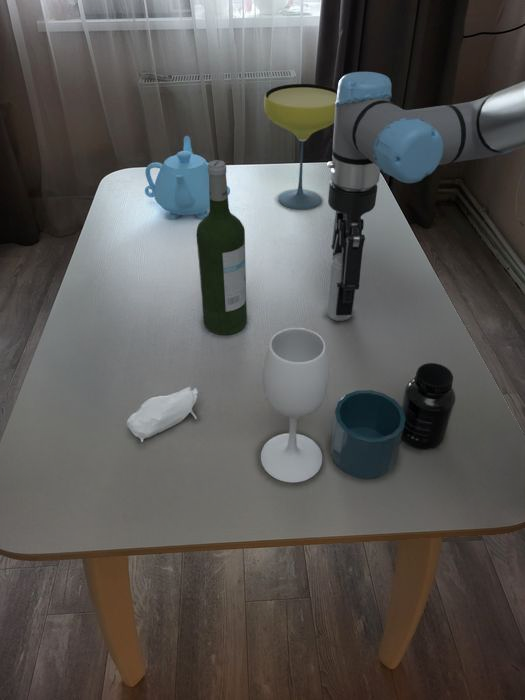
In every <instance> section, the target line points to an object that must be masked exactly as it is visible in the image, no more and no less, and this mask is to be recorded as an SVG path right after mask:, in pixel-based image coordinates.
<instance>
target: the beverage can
mask: <svg viewBox="0 0 525 700" xmlns="http://www.w3.org/2000/svg"><path fill="white" fill-rule="evenodd" d="M341 265H342V253H337V254H335V255H334V256H333V255H332V257H331V262H330V268H329V269H330V270H329V281H328V291H327V292H328V293H327V301H326V302H327V303H326V314H327V317H329V318H330V319H331V320H333V321H337V322H344V321H347V320H348V319H350V318H351V317H352V316H353V312H354V307H353V308H352V315H336V307H337V298H338V288H339V287H337V283H340V282H341ZM355 296H356V291H355V292H354V298H356V297H355ZM354 303H355V299H354V300H353V306H354V305H355V304H354Z"/></svg>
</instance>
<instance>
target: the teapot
mask: <svg viewBox="0 0 525 700" xmlns="http://www.w3.org/2000/svg"><path fill="white" fill-rule="evenodd" d="M191 143H192V142H191V137H190V136H189V135H185V136H184V137H183V147H182V149H183V150H181V151H178V152H177V153H176V154H175V155H172V156H169V157H168V158H166V159H165V160H164V162H163V163H161V162H152V163H150V164H148V165H147V166H146V168H145V170H144V171H145V178H146V180H147V183H148V185H146V186H145V188H144V194H145V195H146V196H147V197H148V198H154V200H155V201H156V203H157V204H158V205H159V206H160V207H161V208H162V209H163V210H164V211H166V212H168V216H167V217H168V218H169V219H172V220H175V219H178V218H180V217H181V216H194V215H196V218H199V219H203V218H204V217H205V216H206V215H208V214H209V211H210V197H209V173H208V165H209V162H207V160H206V159H205V158H204V157H203V156H201V155H198V154H195V153H194V152H193V149H192V144H191ZM154 168H155V169H159V171H158V173H157V176H156V178H155V182H154V180H153V178H152V175H151V169H154ZM150 190H151V191H150ZM227 192H228V196H229V195H230V193H231V188H230V187H229V186H228V185H227Z"/></svg>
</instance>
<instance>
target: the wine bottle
mask: <svg viewBox="0 0 525 700" xmlns="http://www.w3.org/2000/svg"><path fill="white" fill-rule="evenodd" d="M208 163H209V165H208V173H209V197H210V209H209V210H208V215H206V216H205V217H204V218H201V220H200V221H199V223H198V225H197V227H196V235H195V236H196V248H197V258H198V270H199V282H200V292H201V294H200V295H201V305H202V314H203V315H202V316H203V324H204V327H205V328H206V329H207V330H208V331H209V332H211V333H213V334H215V335H218V336H219V335H220V336H230V335H235V334H236V333H239V332H241V331H242V330H243V329H244V328H245V327H246V325H247V323H248V310H247V306H248V305H247V269H246V265H247V264H246V232H245V231H246V230H245V226H244V224H243V223H242V222H241V220H240V219H239V218H238V217H237V216H236V215H234V214H233V213H232V212H231V210H230V205H229V195H228V192H227V186H228V183H227V165H226V162H225V161H223V160H222V159H221V160H219V159H214V160H211V161H209V162H208Z"/></svg>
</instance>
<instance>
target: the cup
mask: <svg viewBox="0 0 525 700" xmlns="http://www.w3.org/2000/svg"><path fill="white" fill-rule="evenodd" d="M401 406H402V405H400V403H398V402H397V400H395V398H393V397H391V396H389V395H388V394H385V393H383V392H381V391H376V390H371V389H361V390H355V391H351V392H349V393H346V394H345V395H344V396H342V397H341V398H340V399H339V400H338V401H337V403H336V406H335V409H334V416H333V422H332V423H333V424H332V432H331V439H330V440H331V441H330V454H331V459H332V460H333V462H334V464H335V465H336V467H338V468H339V469H340V470H341V471H342V472H344V473H345V474H347V475H349V476H351V477H354V478H357V479H362V480H373V479H378V478H381V477H383V476H385V475H387V474H388V473H389V472H390V471H391V470H392V469H393V468H394V466H395V465H396V461H397V456H398V454H399V453H398V452H399V449H400V445H401V441H402V439H401V437H402V433H403V429H404V425H405V420H406V418H405V414H404V411H403V408H402V407H401Z"/></svg>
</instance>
